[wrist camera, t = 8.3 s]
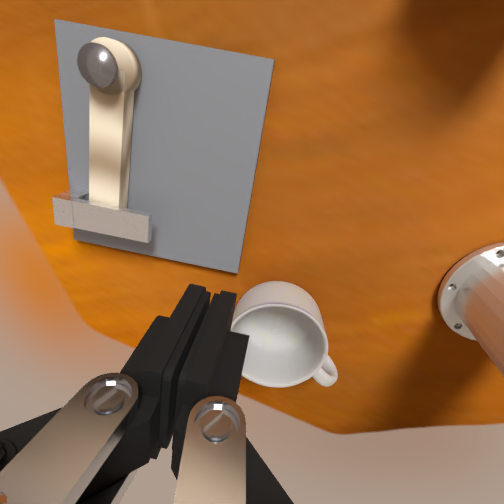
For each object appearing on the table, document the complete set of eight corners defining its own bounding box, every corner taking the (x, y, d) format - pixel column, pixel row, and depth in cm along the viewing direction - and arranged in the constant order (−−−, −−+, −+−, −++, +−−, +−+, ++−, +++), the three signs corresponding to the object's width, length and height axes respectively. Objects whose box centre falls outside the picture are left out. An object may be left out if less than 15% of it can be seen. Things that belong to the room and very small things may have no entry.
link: (96, 35, 29) (69, 26, 25) (143, 47, 29) (123, 41, 25) (93, 220, 37) (73, 232, 33) (130, 230, 37) (114, 243, 33)
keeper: (164, 203, 36) (148, 216, 32) (163, 227, 38) (147, 243, 33) (79, 185, 37) (52, 197, 32) (81, 210, 38) (55, 224, 34)
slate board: (274, 60, 29) (274, 59, 28) (238, 269, 39) (237, 273, 38) (61, 21, 30) (54, 18, 29) (79, 236, 39) (74, 239, 39)
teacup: (219, 299, 41) (203, 341, 34) (285, 251, 37) (283, 288, 30) (288, 366, 45) (286, 417, 37) (355, 329, 41) (368, 379, 33)
